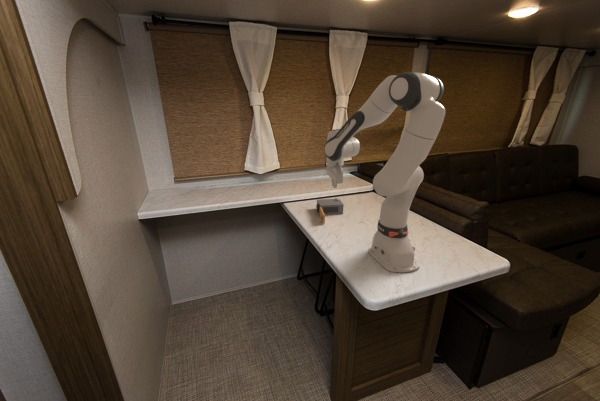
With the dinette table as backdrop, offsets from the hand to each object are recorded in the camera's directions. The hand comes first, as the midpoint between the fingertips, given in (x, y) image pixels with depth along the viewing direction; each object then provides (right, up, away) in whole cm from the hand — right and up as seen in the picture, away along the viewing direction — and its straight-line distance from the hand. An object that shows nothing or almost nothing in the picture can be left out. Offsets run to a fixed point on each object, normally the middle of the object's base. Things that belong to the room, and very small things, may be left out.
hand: (334, 187), depth 137 cm
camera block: (0, -14, +20) cm, 24 cm away
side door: (-6, -18, +8) cm, 21 cm away
